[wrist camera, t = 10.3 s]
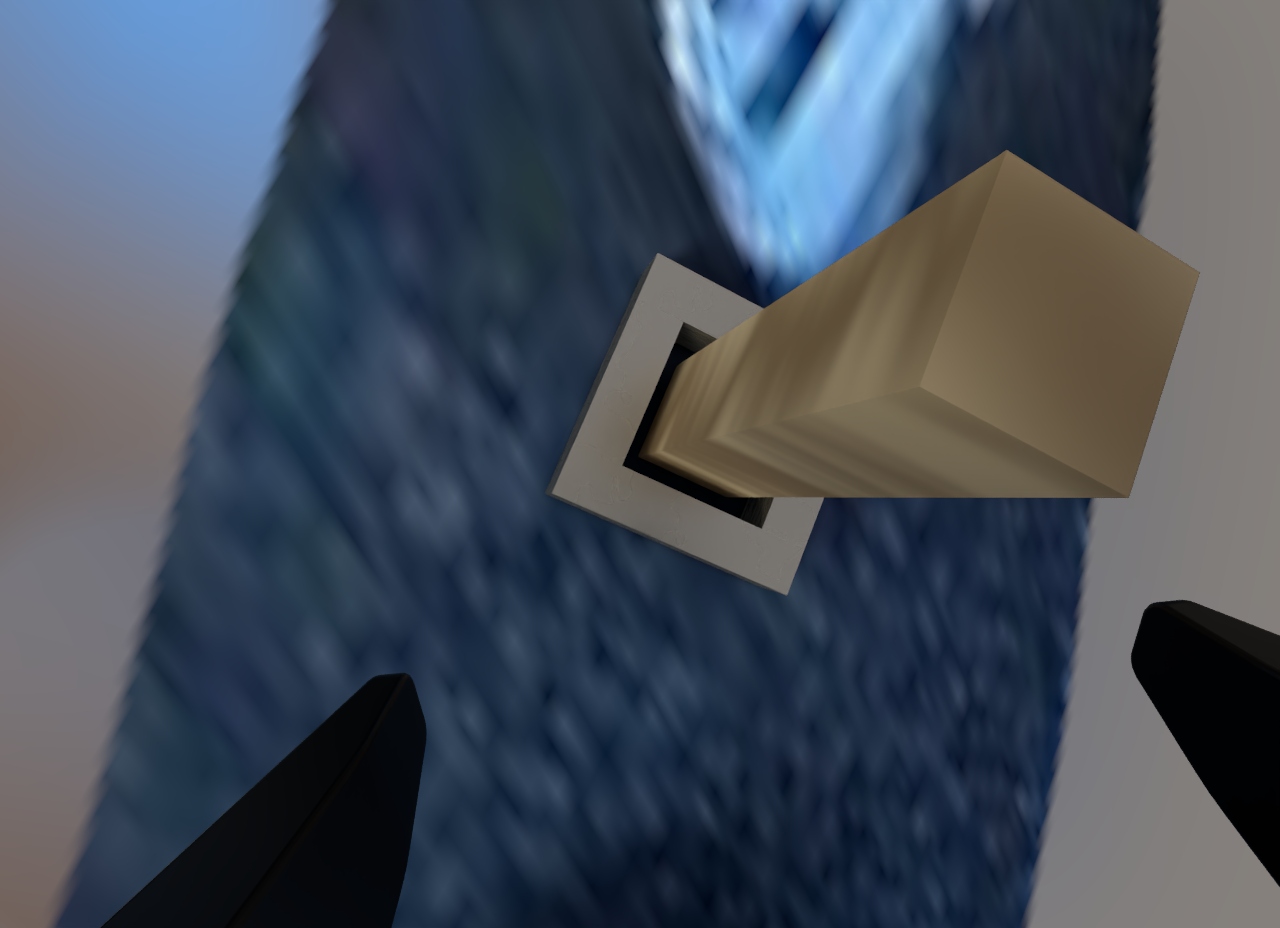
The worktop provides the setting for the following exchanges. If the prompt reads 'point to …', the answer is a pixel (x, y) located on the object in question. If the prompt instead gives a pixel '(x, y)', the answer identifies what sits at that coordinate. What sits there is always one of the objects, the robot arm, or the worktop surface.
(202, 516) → the worktop surface
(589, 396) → the socket plate
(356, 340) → the worktop surface
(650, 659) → the worktop surface
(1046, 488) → the pin
